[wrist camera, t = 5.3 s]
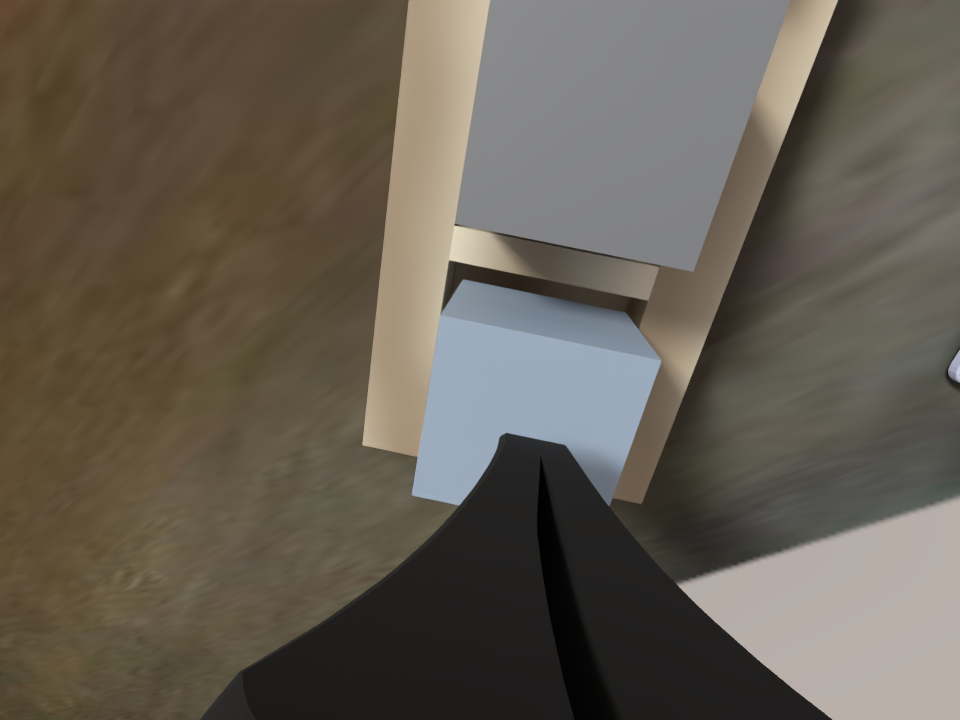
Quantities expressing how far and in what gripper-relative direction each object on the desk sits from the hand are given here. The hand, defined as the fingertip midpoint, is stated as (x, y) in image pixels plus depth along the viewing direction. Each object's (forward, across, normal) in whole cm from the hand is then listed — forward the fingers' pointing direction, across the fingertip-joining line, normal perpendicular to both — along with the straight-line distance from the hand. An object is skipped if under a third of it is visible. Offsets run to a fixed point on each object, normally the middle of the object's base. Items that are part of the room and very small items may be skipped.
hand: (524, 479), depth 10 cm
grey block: (+6, 0, -7) cm, 9 cm away
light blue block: (+6, 0, 0) cm, 6 cm away
